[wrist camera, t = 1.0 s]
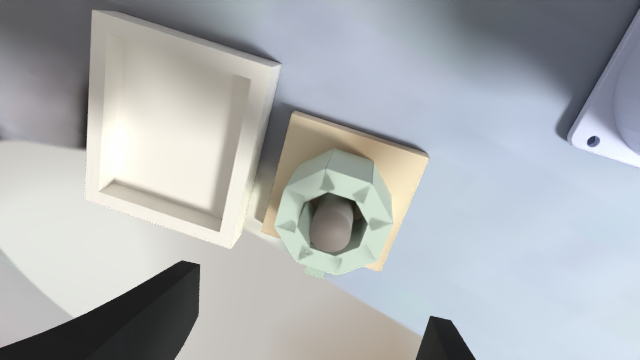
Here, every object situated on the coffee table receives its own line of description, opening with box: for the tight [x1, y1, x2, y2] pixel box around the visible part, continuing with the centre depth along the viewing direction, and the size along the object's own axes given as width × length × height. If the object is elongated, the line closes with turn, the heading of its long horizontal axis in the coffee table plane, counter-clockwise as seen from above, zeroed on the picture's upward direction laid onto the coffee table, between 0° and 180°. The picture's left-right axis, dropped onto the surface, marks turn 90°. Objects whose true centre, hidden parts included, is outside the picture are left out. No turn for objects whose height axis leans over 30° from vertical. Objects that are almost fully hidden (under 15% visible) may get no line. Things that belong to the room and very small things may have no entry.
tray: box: [85, 10, 282, 249], centre depth 20 cm, size 9×10×2 cm
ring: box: [274, 148, 393, 279], centre depth 19 cm, size 5×6×3 cm
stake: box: [261, 111, 429, 272], centre depth 18 cm, size 7×7×5 cm
